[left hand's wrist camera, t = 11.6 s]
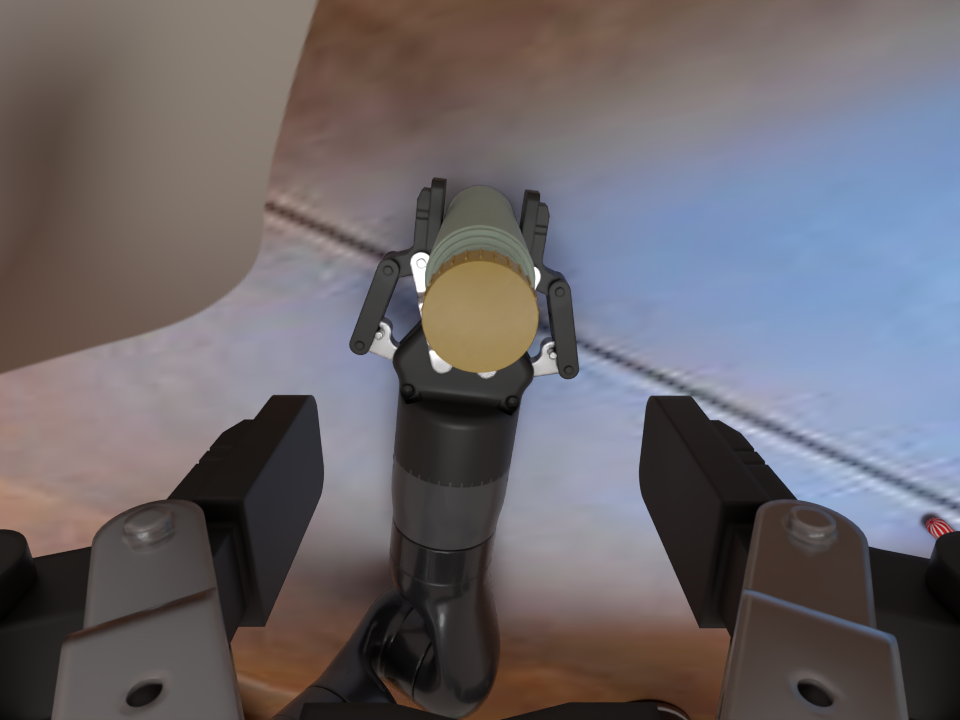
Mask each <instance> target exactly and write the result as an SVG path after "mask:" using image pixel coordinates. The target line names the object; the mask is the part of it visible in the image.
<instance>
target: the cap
mask: <svg viewBox="0 0 960 720" xmlns="http://www.w3.org/2000/svg"><path fill="white" fill-rule="evenodd" d="M423 298H425V299H424V301H423V304H422V307H421V312H422V315H421V317H422V327H423V331H424V334H425V337H426V339H427V341H428V343H429V345H430V347H431V348H432V350H433V351H434V352H435V353H436V354H437V355H438V356H439V357H440V358H441V359H442V360H443V361H445V362H446V363H448V364H449V365H451V366H453V367H455V368H458V369H460V370H463V371H468V372H474V373H486V372H493V371H497V370H500V369H503V368H505V367H507V366H509V365H511V364H513V363H514V362H515V361H517V360H518V359H519V358H520V357H521V356H522V355H524V353H525V352H526V351H527V350H528V348H529V347H530V345H531V344H532V342H533V340H534V338H535V335H536V332H537V328H538V322H539V314H540V311H539V308H538V305H537V301H536V300H538V298H537V295H536V292H535V289H534V287H533V288H532V283H531V280H530V277H529V275H526V274H525V272H524V271H523V270H522V268H521V265H520V264H517V263H515V262H514V261H513V260H511V259H510V257H509V256H507V257H506V256H504V255H502V254H500V253H497V251H495V250H494V252H493V251H487V250H482V249H481V248H480V250H473V251H468V250H465V252H463V253H461V254H458V255H456V256H455V255H452V258H450V259H449V260H448V261H446V262H445V263H444V264H443V263H441V264H440V268H439V269H438V270H437V271H436V273H435V274H432V276H431V279H430V282H429V286H427V287H426V290H425V293H424V296H423Z"/></svg>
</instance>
